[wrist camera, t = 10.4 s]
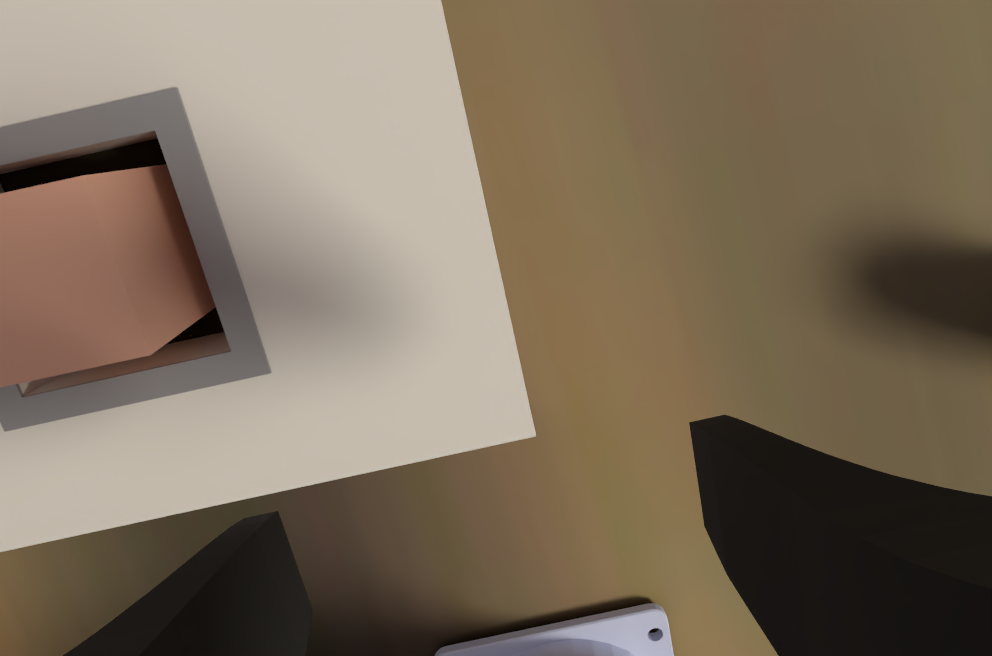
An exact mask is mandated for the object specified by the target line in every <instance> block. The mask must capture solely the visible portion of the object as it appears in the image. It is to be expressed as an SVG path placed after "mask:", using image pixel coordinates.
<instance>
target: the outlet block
mask: <svg viewBox="0 0 992 656" xmlns="http://www.w3.org/2000/svg"><path fill="white" fill-rule="evenodd" d="M153 139H158V140H159V143H160V146H161V149H162V152H163V155H164V158H165V161H166V164H167V167H168V170H169V172H170V175H171V178H172V181H173V184H174V187H175V190H176V193H177V196H178V199H179V201H180V204H181V207H182V210H183V213H184V216H185V219H186V222H187V225H188V228H189V230H190V233H191V236H192V239H193V242H194V245H195V248H196V251H197V254H198V257H199V259H200V262H201V265H202V268H203V271H204V274H205V277H206V280H207V283H208V286H209V288H210V291H211V294H212V297H213V300H214V303H215V306H216V309H217V312H218V315H219V318H220V320H221V323H222V326H223V329H224V332H221V333H216V334H212V335H207V336H202V337H198V338H193V339H189V340H184V341H180V342H175V343H171V344H166V345H164V346H162V347H161V348H160V349H158V350H157V351H156V352H154V353H153V354H152V355H150V356H145V357H140V358H136V359H131V360H126V361H122V362H117V363H112V364H108V365H103V366H98V367H94V368H89V369H85V370H80V371H75V372H71V373H66V374H61V375H57V376H52V377H47V378H43V379H38V380H33V381H29V382H24V383H19V384H15V385H10V386H5V387H1V388H0V552H3V551H7V550H12V549H17V548H21V547H26V546H30V545H35V544H40V543H44V542H49V541H54V540H58V539H63V538H67V537H72V536H77V535H81V534H86V533H91V532H95V531H100V530H104V529H109V528H114V527H118V526H123V525H128V524H132V523H137V522H141V521H146V520H151V519H155V518H160V517H165V516H169V515H174V514H179V513H183V512H188V511H192V510H197V509H202V508H206V507H211V506H216V505H220V504H225V503H229V502H234V501H239V500H243V499H248V498H253V497H257V496H262V495H266V494H271V493H276V492H280V491H285V490H290V489H294V488H299V487H303V486H308V485H313V484H317V483H322V482H327V481H331V480H336V479H340V478H345V477H350V476H354V475H359V474H364V473H368V472H373V471H377V470H382V469H387V468H391V467H396V466H401V465H405V464H410V463H414V462H419V461H424V460H428V459H433V458H438V457H442V456H447V455H451V454H456V453H461V452H465V451H470V450H475V449H479V448H484V447H488V446H493V445H498V444H502V443H507V442H512V441H516V440H521V439H525V438H530V437H535V436H536V433H535V429H534V424H533V420H532V415H531V411H530V406H529V401H528V397H527V392H526V388H525V383H524V379H523V374H522V369H521V365H520V360H519V356H518V351H517V346H516V342H515V337H514V333H513V328H512V324H511V319H510V314H509V310H508V305H507V301H506V296H505V291H504V287H503V282H502V278H501V273H500V269H499V264H498V259H497V255H496V250H495V246H494V241H493V237H492V232H491V227H490V223H489V218H488V214H487V209H486V204H485V200H484V195H483V191H482V186H481V182H480V177H479V172H478V168H477V163H476V159H475V154H474V150H473V145H472V140H471V136H470V131H469V127H468V122H467V117H466V113H465V108H464V104H463V99H462V95H461V90H460V85H459V81H458V76H457V72H456V67H455V63H454V58H453V53H452V49H451V44H450V40H449V35H448V30H447V26H446V21H445V17H444V12H443V8H442V3H441V0H0V174H4V173H8V172H13V171H17V170H21V169H26V168H30V167H35V166H39V165H43V164H48V163H52V162H57V161H61V160H65V159H70V158H74V157H79V156H83V155H87V154H92V153H96V152H101V151H105V150H109V149H114V148H118V147H123V146H127V145H131V144H136V143H140V142H145V141H149V140H153ZM1 193H4V191H3V188H2V186H1V183H0V194H1Z"/></svg>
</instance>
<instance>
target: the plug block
mask: <svg viewBox="0 0 992 656" xmlns="http://www.w3.org/2000/svg"><path fill="white" fill-rule="evenodd" d="M215 307H216V306H215V303H214V300H213V297H212V294H211V291H210V288H209V286H208V283H207V280H206V277H205V274H204V271H203V268H202V265H201V262H200V259H199V257H198V254H197V251H196V248H195V245H194V242H193V239H192V236H191V233H190V230H189V228H188V225H187V222H186V219H185V216H184V213H183V210H182V207H181V204H180V201H179V199H178V196H177V193H176V190H175V187H174V184H173V181H172V178H171V175H170V172H169V170H168V167H167V164H164V165H157V166H149V167H142V168H135V169H127V170H120V171H112V172H105V173H98V174H90V175H83V176H78V177H74V178H69V179H65V180H60V181H55V182H51V183H46V184H42V185H37V186H33V187H28V188H23V189H19V190H14V191H10V192H5V193H1V194H0V388H1V387H5V386H10V385H15V384H19V383H24V382H29V381H33V380H38V379H43V378H47V377H52V376H57V375H61V374H66V373H71V372H75V371H80V370H85V369H89V368H94V367H98V366H103V365H108V364H112V363H117V362H122V361H126V360H131V359H136V358H140V357H145V356H150V355H152V354H153V353H154V352H156V351H157V350H158V349H160V348H161V347H162V346H164V345H165V344H167V343H168V342H169V341H171V340H172V339H173V338H175V337H176V336H177V335H179V334H180V333H181V332H183V331H184V330H185V329H187V328H188V327H190V326H191V325H192V324H194V323H195V322H196V321H198V320H199V319H200V318H202V317H203V316H204V315H206V314H207V313H209V312H210V311H211V310H213V309H214V308H215Z"/></svg>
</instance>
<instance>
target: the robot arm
mask: <svg viewBox="0 0 992 656" xmlns="http://www.w3.org/2000/svg"><path fill="white" fill-rule="evenodd" d="M689 424H690V430H691V437H692V444H693V451H694V458H695V464H696V471H697V478H698V485H699V492H700V498H701V505H702V512H703V519H704V526H705V528H706V530H707V532H708V535H709V537H710V539H711V541H712V544H713V546H714V548H715V550H716V552H717V554H718V557H719V559H720V561H721V563H722V565H723V567H724V569H725V571H726V573H727V575H728V577H729V579H730V580H731V582H732V583H733V585H734V587H735V588H736V590H737V591H738V593H739V594H740V596H741V598H742V599H743V601H744V602H745V604H746V606H747V607H748V609H749V610H750V612H751V613H752V615H753V617H754V618H755V620H756V621H757V623H758V624H759V626H760V627H761V629H762V630H763V632H764V634H765V635H766V637H767V638H768V640H769V641H770V643H771V644H772V646H773V648H774V649H775V651H776V652H777V654H778V655H779V656H992V496H986V495H980V494H974V493H968V492H963V491H958V490H953V489H948V488H943V487H938V486H934V485H930V484H926V483H922V482H918V481H914V480H910V479H906V478H902V477H898V476H894V475H890V474H887V473H883V472H880V471H876V470H873V469H870V468H867V467H864V466H861V465H858V464H855V463H852V462H848V461H845V460H842V459H839V458H836V457H834V456H831V455H828V454H825V453H823V452H820V451H817V450H814V449H812V448H809V447H807V446H804V445H801V444H799V443H796V442H794V441H791V440H789V439H786V438H784V437H781V436H779V435H776V434H774V433H772V432H769V431H767V430H764V429H762V428H759V427H757V426H755V425H752V424H750V423H747V422H744V421H742V420H739V419H737V418H734V417H730V416H727V415H722V416H717V417H713V418H708V419H703V420H699V421H694V422H689ZM311 615H312V607H311V604H310V601H309V599H308V596H307V593H306V590H305V587H304V584H303V581H302V579H301V576H300V573H299V570H298V567H297V564H296V561H295V558H294V556H293V553H292V550H291V547H290V544H289V541H288V538H287V535H286V533H285V530H284V527H283V524H282V521H281V518H280V515H279V513H278V511H276V512H272V513H267V514H263V515H258V516H253V517H249V518H244V519H242V520H241V521H239V522H237V523H236V524H234V525H233V526H231V527H230V528H228V529H227V530H226V531H224V532H223V533H222V534H220V535H219V536H218V537H217V538H215V539H214V540H213V541H212V542H210V543H209V544H208V545H207V546H205V547H204V548H203V549H202V550H200V551H199V552H198V553H197V554H195V555H194V556H193V557H192V558H191V559H189V560H188V561H187V562H186V563H184V564H183V565H182V566H181V567H180V568H178V569H177V570H176V571H175V572H173V573H172V574H171V575H170V576H169V577H167V578H166V579H165V580H164V581H162V582H161V583H160V584H159V585H158V586H156V587H155V588H154V589H153V590H151V591H150V592H149V593H147V594H146V595H145V596H143V597H142V598H141V599H140V600H138V601H137V602H136V603H134V604H133V605H132V606H130V607H129V608H128V609H127V610H125V611H124V612H123V613H121V614H120V615H119V616H117V617H116V618H115V619H113V620H112V621H111V622H110V623H108V624H107V625H106V626H104V627H103V628H102V629H100V630H99V631H98V632H96V633H95V634H94V635H92V636H91V637H89V638H88V639H87V640H85V641H84V642H82V643H81V644H79V645H78V646H77V647H75V648H74V649H72V650H71V651H69V652H68V653H66V654H65V655H63V656H305V655H306V649H307V644H308V637H309V630H310V622H311ZM654 628H659V630H658V631H657V632H655V633H649V631H650V630H651V629H654ZM435 656H674V654H673V648H672V642H671V636H670V630H669V625H668V619H667V616H666V614H665V611H664V609H663V608H662V607H661V606H660V605H658V604H655V603H648V604H643V605H639V606H634V607H629V608H624V609H620V610H615V611H610V612H605V613H601V614H596V615H591V616H586V617H582V618H577V619H572V620H567V621H563V622H558V623H553V624H548V625H544V626H539V627H534V628H529V629H525V630H520V631H515V632H510V633H506V634H501V635H496V636H491V637H487V638H482V639H477V640H472V641H468V642H463V643H458V644H453V645H449V646H445V647H442V648H440V649H439V650H438V651H437V652H436V654H435Z"/></svg>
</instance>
